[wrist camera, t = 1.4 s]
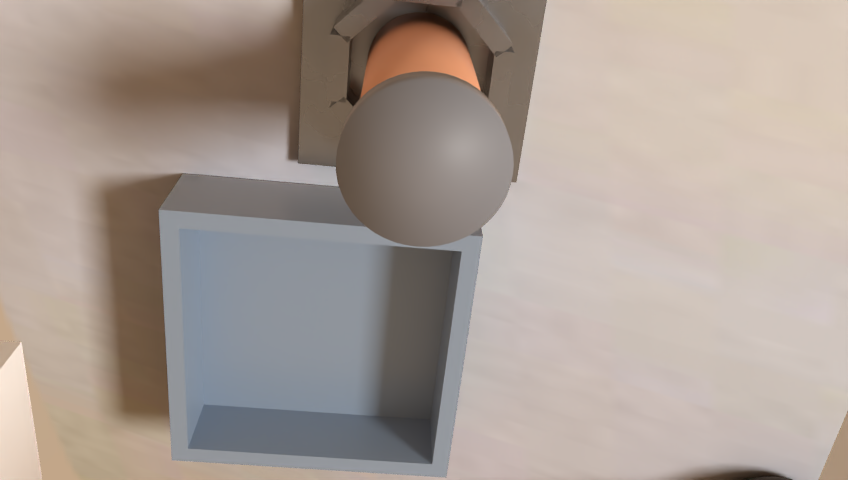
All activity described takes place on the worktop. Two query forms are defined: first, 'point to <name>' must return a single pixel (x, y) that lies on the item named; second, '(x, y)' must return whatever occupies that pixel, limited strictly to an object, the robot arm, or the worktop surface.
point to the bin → (308, 331)
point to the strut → (423, 138)
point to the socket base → (352, 37)
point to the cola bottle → (770, 478)
